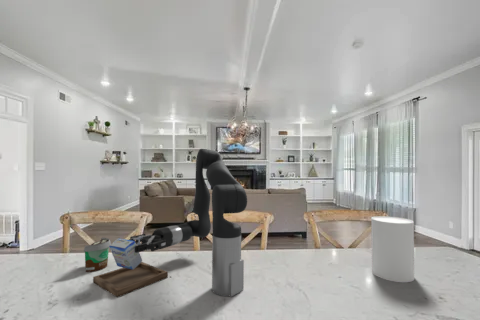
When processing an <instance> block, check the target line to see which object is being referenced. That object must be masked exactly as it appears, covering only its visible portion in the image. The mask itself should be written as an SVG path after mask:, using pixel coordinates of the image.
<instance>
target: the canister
mask: <svg viewBox="0 0 480 320" xmlns="http://www.w3.org/2000/svg"><path fill="white" fill-rule="evenodd" d="M370 218H371V221H370V222H371V225H370V226H371V273H372V274H373V275H374V276H376V277H378V278H381V279H383V280H387V281H389V282H390V281H391V282H396V283H409V282H413V281H415V232H414V231H415V230H414V228H415V226H414V225H415V223H414V220H412V219H410V218H403V217H397V216H388V215H387V216H386V215H385V216H383V215H380V216H379V215H377V216H372V217H370Z"/></svg>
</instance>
